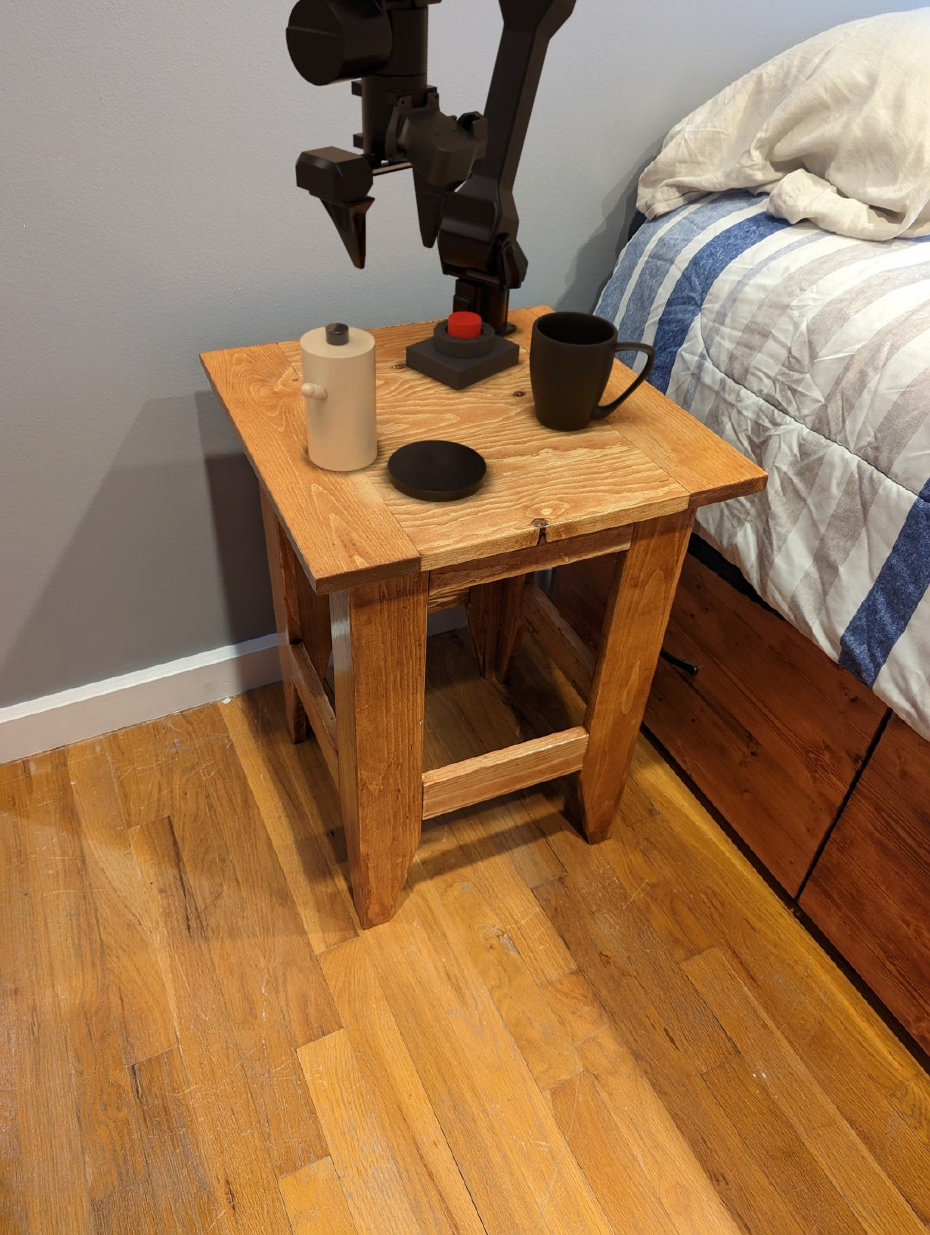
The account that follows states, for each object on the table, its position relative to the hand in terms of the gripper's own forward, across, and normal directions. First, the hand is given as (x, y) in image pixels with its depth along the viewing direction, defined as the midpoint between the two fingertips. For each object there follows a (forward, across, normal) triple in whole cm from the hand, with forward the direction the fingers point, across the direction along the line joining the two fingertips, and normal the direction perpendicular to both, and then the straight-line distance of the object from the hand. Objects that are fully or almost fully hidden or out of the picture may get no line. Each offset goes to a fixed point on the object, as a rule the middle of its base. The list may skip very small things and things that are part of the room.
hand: (394, 257), depth 84 cm
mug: (+13, +8, -19) cm, 24 cm away
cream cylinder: (+13, -15, -8) cm, 21 cm away
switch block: (+13, +8, -2) cm, 16 cm away
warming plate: (+13, -10, -16) cm, 23 cm away
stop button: (+9, +8, -2) cm, 13 cm away
